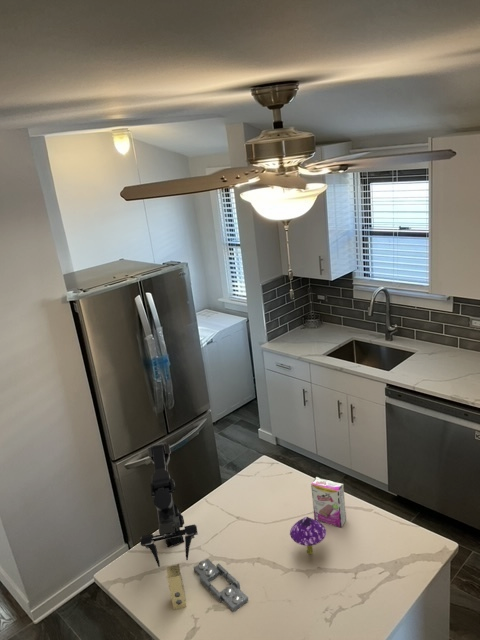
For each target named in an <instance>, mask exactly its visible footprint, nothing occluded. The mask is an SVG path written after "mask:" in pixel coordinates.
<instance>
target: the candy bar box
mask: <svg viewBox="0 0 480 640" xmlns="http://www.w3.org/2000/svg"><path fill="white" fill-rule="evenodd" d="M310 485H311V487H310V488H311V497H312V505H313V506H312V507H313V517H314V518H313V519H314V520H316V521H319V522H320V523H324V524H327V525H332V526H335V527H336V528H337V527H338V528H342V527H343V526H344V524H345V523H346V521H347V516H346V515H347V514H346V502H345V501H346V499H345V487H344V483H340V482H337V481H332V480H328V479H325V478H321V477H318V476H316V477H315V478H314V480H313V481H311V484H310Z"/></svg>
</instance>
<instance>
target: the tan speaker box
mask: <svg viewBox="0 0 480 640" xmlns="http://www.w3.org/2000/svg"><path fill="white" fill-rule="evenodd" d="M166 578H167V583H168V587H169V589H168V590H169V592H170V597H171V602H172V607H173V610H179V609H182V608H183V609H184V608H187V598H186V591H185V588H184V587H185V586H184V582H183V577H182V571H181V566H180V564H174V565H170V566H166Z"/></svg>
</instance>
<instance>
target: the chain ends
mask: <svg viewBox="0 0 480 640" xmlns="http://www.w3.org/2000/svg"><path fill="white" fill-rule="evenodd" d="M193 572H194V573H195V574H196V575H197V576H198V577H199V581H200V584H202V586H204V587H205V588H206V589H207V591H209V592H210V594H211V595H212V596H213V597H215V599H216V600H217V601H218V602H219V603H221V604H222V603H224V604H225V605H226V606H227V607H228V608H229V609H230V610H231V611H232V612H235V611H237V610H238V609H239V608H241V607H242V606H243V605H245V604H247V603H248V602H249V597H248V596H247V595H246V594H245V593H244V592H243V591H242V590H241V585H240V584H241V583H240V582H239V581H238V580H237V579H236V578H235V577H234V576H233V575H232V574H231V573H229V571H228V570H227V569H226V568H224V567H223V566H222V565H221V564H220V563H217V564H216V565H215V564H214V563H213V562H212V561H211V560H210V559H209V558H206V559H204V560H201V561H200V562H199V563H198V564H197V565H195V566H194V567H193ZM219 576H222V577H223V578H224V579H225V580H226V581H227V582H229V584H230V585H228V586H226V587H225V588H224V589H222V590H221V591H218V589H217V588H216V587H215V586H214V585H213V584H212V583H211V582H212V581H213V580H215V579H216V578H218V577H219Z"/></svg>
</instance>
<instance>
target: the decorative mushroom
mask: <svg viewBox="0 0 480 640" xmlns="http://www.w3.org/2000/svg"><path fill="white" fill-rule="evenodd" d="M289 535H290V537H291V540H292V541H294V542H295V543H296V544H298V545H301V546H304V547H305V546H306V549H307V551H306V552H307V554H308V555H312V554H313V553H314V550H313V546H315V545H317V544H319V543H321V542H322V541H323V540H324V539H325V537H326V535H327V530H326V527H325V526H324V525H323V524H322V522H321V521H317V520H315V519H314V518H312V517H309V516H305V517H303V518H301V519H299V520H298V521H296V522H295V523H294V524H293V526H291V528H290V530H289Z"/></svg>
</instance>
